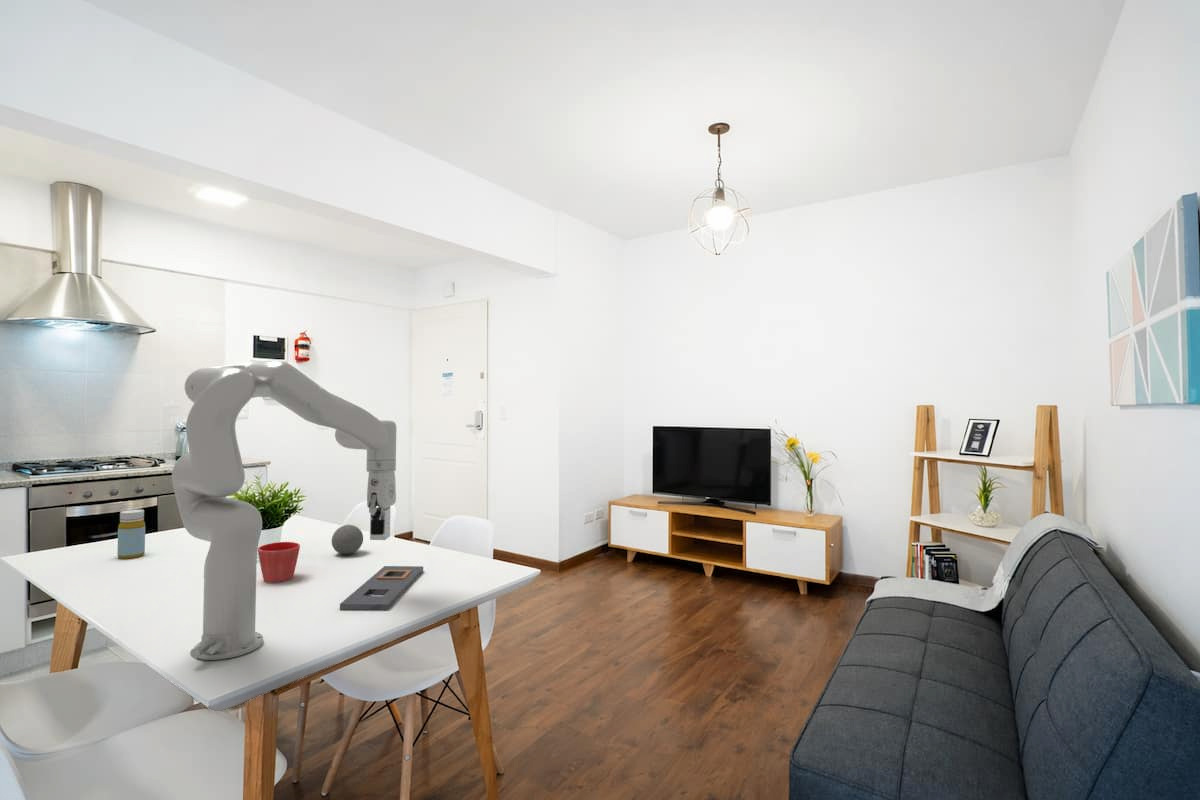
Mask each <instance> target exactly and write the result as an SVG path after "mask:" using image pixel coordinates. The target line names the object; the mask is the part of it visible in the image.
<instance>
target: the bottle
mask: <svg viewBox="0 0 1200 800" xmlns="http://www.w3.org/2000/svg"><path fill="white" fill-rule="evenodd" d="M145 551H146V523H145V510H144V509H126V510H122V511H120V512H119V523H118V526H117V557H118V558H119V559H120V560H130V559H137V558H140V557H142V556H144V555H145Z"/></svg>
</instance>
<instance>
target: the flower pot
mask: <svg viewBox="0 0 1200 800" xmlns="http://www.w3.org/2000/svg"><path fill="white" fill-rule="evenodd" d="M300 548H301V544H300V543H299V542H295V541H280V542H279V541H277V542H270V543H266V544H263V545H261V546H258V550H257V556H258V560H259V565H260V570H261V574H262V579H263V581H264V582H265V581H266V582H265V583H269V582H275V583H280V582H279V581H281V582H286V581H285V580H287V581H290V580H291V578H292V579H293V578H294V577H295V571H296V567H297V563H298V558H299V554H300V550H301V549H300ZM289 579H290V580H289Z"/></svg>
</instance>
